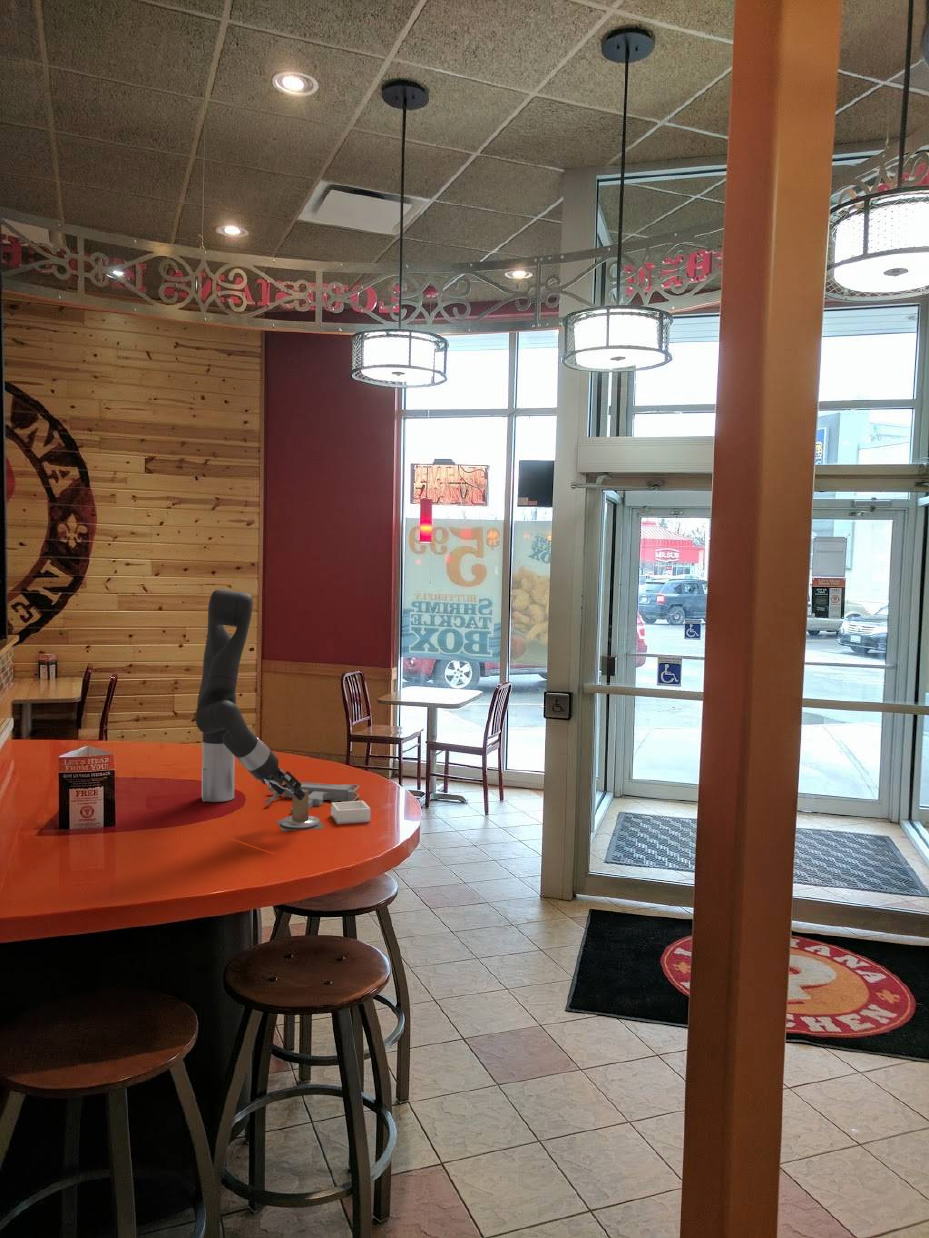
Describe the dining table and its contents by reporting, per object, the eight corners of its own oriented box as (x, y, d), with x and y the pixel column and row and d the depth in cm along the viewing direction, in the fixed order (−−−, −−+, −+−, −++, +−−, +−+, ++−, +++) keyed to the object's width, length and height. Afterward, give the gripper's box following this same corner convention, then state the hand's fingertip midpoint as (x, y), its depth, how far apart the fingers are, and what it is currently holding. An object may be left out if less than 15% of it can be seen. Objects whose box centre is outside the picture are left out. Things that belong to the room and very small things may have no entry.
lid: (297, 831, 233) (297, 797, 232) (273, 823, 239) (273, 790, 239) (326, 824, 240) (327, 790, 240) (303, 816, 247) (303, 784, 246)
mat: (282, 832, 233) (282, 831, 233) (276, 821, 243) (276, 819, 243) (324, 829, 236) (324, 828, 236) (317, 818, 247) (317, 817, 247)
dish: (337, 825, 240) (337, 810, 240) (331, 816, 249) (331, 802, 249) (370, 823, 243) (370, 808, 243) (362, 814, 252) (363, 800, 252)
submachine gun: (332, 807, 247) (361, 782, 272) (238, 800, 253) (275, 776, 277) (332, 823, 248) (361, 797, 272) (238, 816, 254) (275, 790, 278)
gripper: (282, 749, 225) (317, 787, 234) (248, 742, 235) (284, 778, 244) (264, 773, 222) (301, 811, 231) (231, 765, 231) (267, 801, 240)
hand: (292, 794), depth 237 cm, fingers open, 8 cm apart
